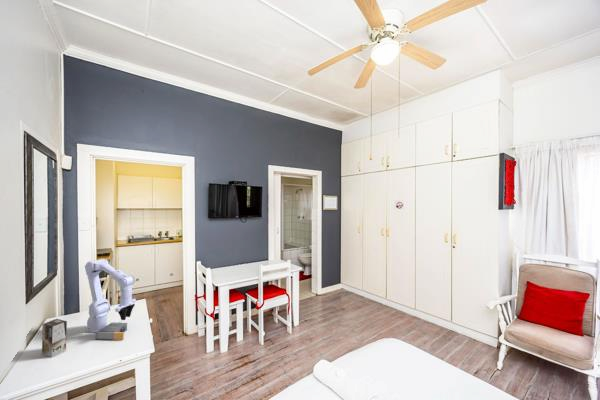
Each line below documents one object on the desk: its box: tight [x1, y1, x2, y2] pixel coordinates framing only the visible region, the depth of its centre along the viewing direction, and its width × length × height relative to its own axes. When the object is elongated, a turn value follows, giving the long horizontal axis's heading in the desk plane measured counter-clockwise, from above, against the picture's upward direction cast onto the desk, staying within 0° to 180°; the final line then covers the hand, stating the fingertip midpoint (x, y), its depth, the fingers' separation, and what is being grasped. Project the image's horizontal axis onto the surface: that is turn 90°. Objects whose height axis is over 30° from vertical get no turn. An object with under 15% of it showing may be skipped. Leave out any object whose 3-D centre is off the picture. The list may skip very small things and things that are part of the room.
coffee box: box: [41, 318, 68, 358], centre depth 131 cm, size 9×6×16 cm
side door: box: [95, 332, 125, 341], centre depth 143 cm, size 16×1×4 cm, turn 88°
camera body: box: [98, 322, 128, 333], centre depth 149 cm, size 11×10×5 cm
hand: (125, 318), depth 150 cm, fingers open, 3 cm apart
